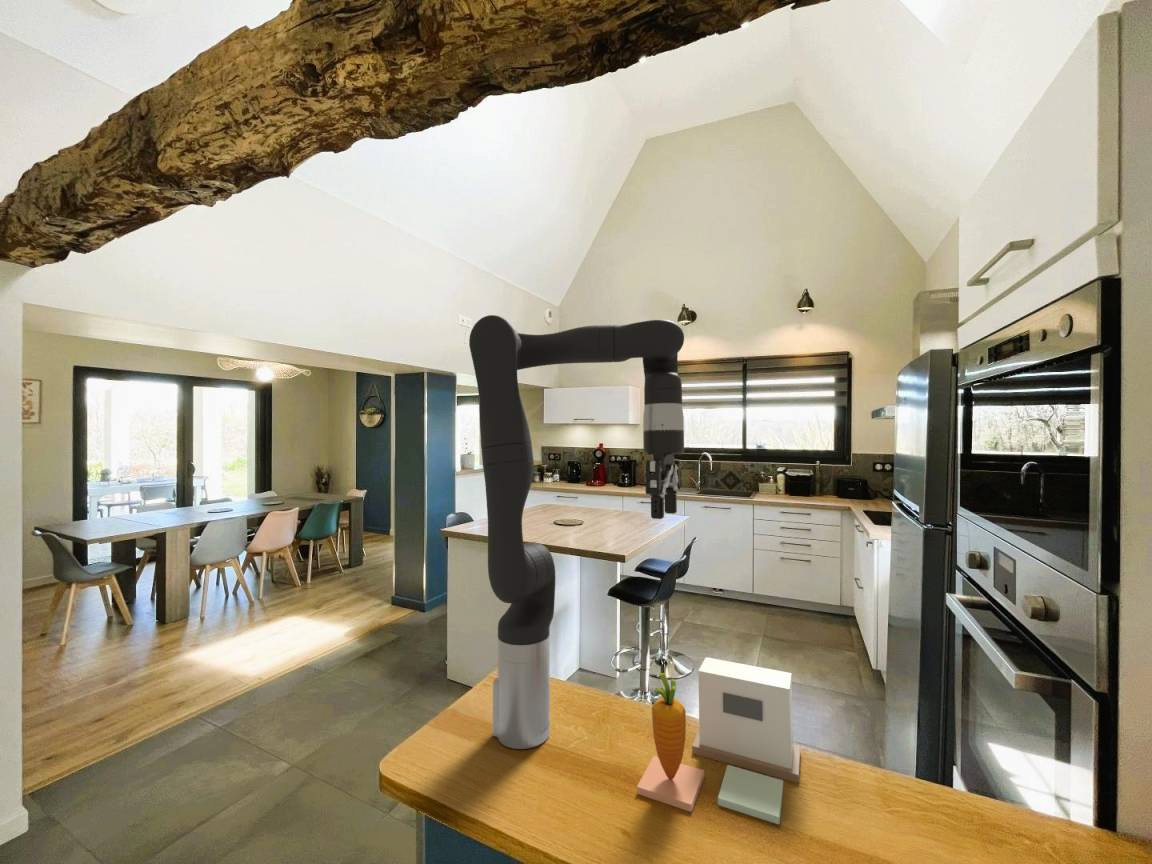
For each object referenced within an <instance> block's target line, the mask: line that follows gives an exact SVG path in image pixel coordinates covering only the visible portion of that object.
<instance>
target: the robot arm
mask: <svg viewBox="0 0 1152 864" xmlns="http://www.w3.org/2000/svg"><path fill="white" fill-rule="evenodd" d="M468 339H469V341H468V343H469V350H470V351H469V352H470V355H471V359H472V365H473V369H474V374H475V379H476V384H477V392H478V409H479V410H478V413H479V416H478V417H479V432H480V449H481V450H480V451H481V458H482V460H481V461H482V468H483V469H482V470H483V478H484V484H485V485H484V486H485V496H486V497H485V499H486V510H487V571H488V579H489V580H488V581H489V583H490V587H491V590H492V592H493V594H494V595H495V596H496V598H497V599H498V600H500V601H501V602H503V603H505V604H510V605H509V607H508V609H507V610H506V612H505V613H504V614H503V615H502V616H501V617H500V619H499V621H498V623H497V677H496V678H494V679H493V680H492V681H493V682H492V736H493V737H495V738H497V740H498V741H499V742H500V743H501V745H503V746H504V747H507V748H510V749H515V750H525V749H527V750H529V749H531V748H535V747H538V746H540V745H542V744H543V743H545V742H546V741H547V739H548V738H549V736H550V729H551V728H550V724H551V723H550V722H551V720H550V712H551V711H550V700H551V699H550V695H551V693H550V690H551V688H550V687H551V686H550V682H551V681H550V675H551V674H550V670H551V669H550V662H551V661H550V659H551V657H550V656H551V655H550V653H551V652H550V627H551V624H552V621H553V617H554V614H555V602H556V601H555V599H556V598H555V597H556V567H555V562H554V558H553V556H552V553H551V552H550V550H549V549H548V547H546V546H545V545H544V544H542V543H541V542H540V543H539V542H527V543H524V537H523V514H524V509H525V504H526V501H527V499H528V496H529V492H530V489H531V486H532V482H533V478H534V475H535V474H534V472H535V468H534V467H535V464H534V453H533V445H532V444H533V443H532V438H531V432H530V428H529V423H528V419H527V416H526V412H525V409H524V405H523V402H522V397H521V394H520V388H519V382H518V371H519V370H525V369H530V368H535V367H543V366H552V365H565V364H589V363H591V364H596V363H601V364H602V363H620V362H621V363H622V362H626V361H628V360H631V359H641V358H642V367H643V374H644V387H643V388H644V389H643V390H644V391H643V393H644V394H643V395H644V399H643V400H644V404H643V405H644V406H643V408H644V409H643V415H642V416H643V417H642V423H643V424H642V425H643V426H642V433H643V435H642V437H643V438H642V442H643V446H642V447H643V454H645V455H652V460H651V459H650V460H645V494H646V495H648V496H649V498H650V517H651V518H652V519H654V520H662V519H664V518H665V513H666V514H669V515H670V514H676V513H677V512H678V511H677V510H678V509H677V508H678V503H677V499H678V498H677V494H678V493H679V490H681V488H682V487H681V486H682V485H681V462H680V459H675V455H683V454H684V453H685V430H684V429H685V424H684V423H685V419H684V412H683V411H684V410H683V386H682V379H681V376H679V371H678V370H679V369H678V368H679V367H678V353H679V352H680V351H681V350H682V347H683V345H684V342H685V333H684V331H683V329H682V328H681V326H680V325H679V324H678V323H676V322H675V321H672V320H669V319H651V320H644V321H637V322H632V323H627V324H613V325H612V324H603V325H601V324H600V325H586V326H585V325H584V326H580V327H576V328H575V327H574V328H570V329H567V330H562V331H559V332H553V333H547V334H529V333H528V334H527V333H520V332H518V331H517V330H516V328H515V326H514V325H513V324H512V322H510V321H508V319H505V318H504V317H502V316H499V315H495V314H494V315H493V314H492V315H490V314H489V315H485V316H483V317H481V318H480V319H479V320H477V321H476V323H474V325H473V326H472V329H471V332H470V334H469V338H468Z"/></svg>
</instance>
